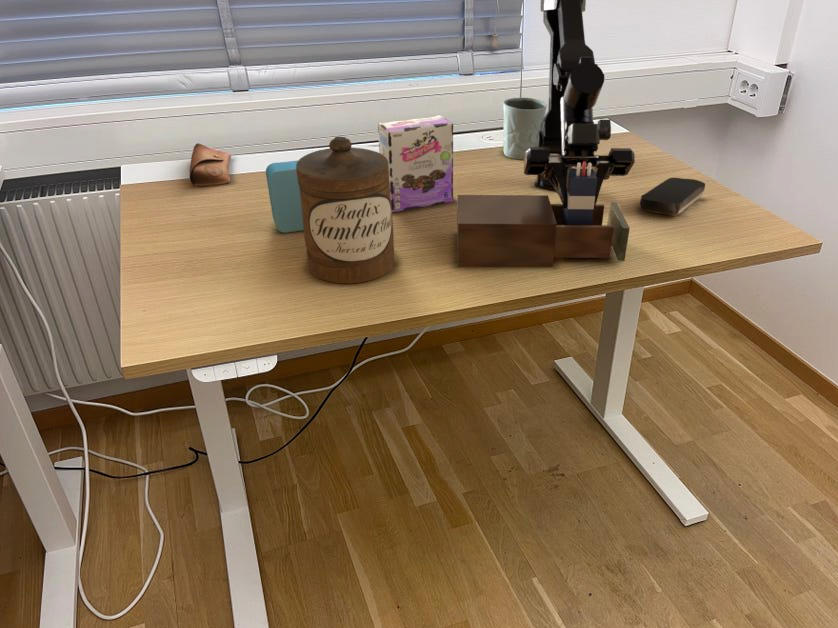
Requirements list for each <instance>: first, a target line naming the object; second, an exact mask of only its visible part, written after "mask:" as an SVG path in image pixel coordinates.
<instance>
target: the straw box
mask: <svg viewBox="0 0 838 628" xmlns="http://www.w3.org/2000/svg"><path fill="white" fill-rule="evenodd" d="M591 165H592V164H591V163H588V167H586V162H585V161H584V162H583V165H582V167H581V163H578V164H577V167H576V168H572V169H568V171H567V181H566V188H567V195H568V207H567V209H565V208H564V212H563V222H562V225H591V224H592V216H593V209H594V201H595V192H596V184H597V177H596V175H595V169H593V168H592V167H591Z"/></svg>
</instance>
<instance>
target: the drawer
mask: <svg viewBox="0 0 838 628" xmlns="http://www.w3.org/2000/svg"><path fill="white" fill-rule="evenodd" d="M550 204H551V207H552V210H553V214H554V217H555V220H556V224H557V226H556V237H555V248H554V258H569V259H570V258H573V259H574V258H577V259H578V258H582V259H584V258H589V259H590V258H591V259H594V258H595V259H596V258H597V259H599V258H601V259H603V258H604V259H605V258H607V259H608V258H611V252H612V250H613V253H614V255H615V257H616V260H617V262H625V260H626V253H627V248H628V242H629V235H630V229H631V228H630V226H629V224H628V222H627V220H626V218H625V215H624V214H623V212H622V210H621V208H620V206H619V204H618V202H617V201H610V202H609V208H608V209H609V210H608V217H607V223H606V225H605V224H604V225H603V220H604V213H605V204H602V203H598V204H597V203H596V206H595V208H594V209H593V216H592V224H591V225H562V222H563V212H564V206H563V204H562V203H550Z"/></svg>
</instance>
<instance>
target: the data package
mask: <svg viewBox="0 0 838 628" xmlns="http://www.w3.org/2000/svg"><path fill="white" fill-rule="evenodd" d="M297 162H298V160H290V161H281V162H272V163H269V165H267V167H266V169H265V175H266V183H267V189H268V195H269V202H270V208H271V214H272V219H273V222H274V225H275V227H276V229H277V230H278V231H279V232H280V233H284V234H287V233H294V232H301V231H304V228H303V218H302V207H301V198H300V189H299V184H298V179H297V171H296V164H297Z"/></svg>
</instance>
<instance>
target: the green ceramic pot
mask: <svg viewBox="0 0 838 628" xmlns="http://www.w3.org/2000/svg"><path fill="white" fill-rule="evenodd" d="M502 108H503V131H502V132H503V154H504V156H506V157H507V158H510V159H515V160H524V159H525V155H526V151H527V150H528V149H529V147H535V141H536V137H537V133H538V131H540V127H541V122H542V121H543V119H544V117H545V116H546V113H547V112H546V111H547V108H548V107H547V103H546V102H544V101H543V100H541V99H537V98H532V97H510V98H507V99H504V101H503V107H502Z"/></svg>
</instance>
